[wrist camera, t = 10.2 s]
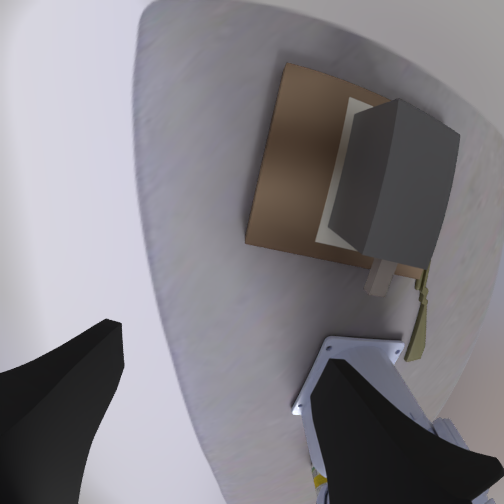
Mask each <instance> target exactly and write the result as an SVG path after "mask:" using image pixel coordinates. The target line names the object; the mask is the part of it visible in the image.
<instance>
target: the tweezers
mask: <svg viewBox="0 0 504 504" xmlns="http://www.w3.org/2000/svg"><path fill="white" fill-rule="evenodd" d="M430 262H431V261H430ZM429 267H430V263H429V266H428V269H427V270H424V269H423V271H422V274H421V277H420V279H416V283H415V289H416V290H419V291H420V297H419V301H420V302H421V306H420V309H419V313H418V317H417V320H416V324H415V327H414V330H413V334H412V337H411V340H410V343H409V346H408V349H407V352H406V355H405V358H404V360H405V361H406V362H410V361H414V360H417V359H420V358H421V356H422V353H423V351H424V348H425V339H426V315H427V303H428V300H427V299H426V296H427V294H428V289H427V288H426V282H427V277H428V273H429Z"/></svg>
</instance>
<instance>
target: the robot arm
mask: <svg viewBox="0 0 504 504" xmlns="http://www.w3.org/2000/svg"><path fill="white" fill-rule="evenodd" d="M328 346H330V347H329V348H327V347H328ZM404 346H405V344H404V343H403V341H399V340H379V339H364V338H351V337H340V336H329V337H327V338H326V339H325V340H324V342H323V345H322V347H321V349H320V352H319V354H318V356H317V358H316V360H315V363H314V365H313V367H312V369H311V371H310V373H309V375H308V377H307V379H306V381H305V384H304V386H303V388H302V390H301V392H300V394H299V396H298V397H297V399H296V401H295V403H294V405H293V407H292V409H291V412H292V414H294V415H301V416H302V421H303V425H304V430H305V434H306V439H307V444H308V448H309V453H310V457H311V461H312V464H313V466H314V467H315V469H316V470H317V471H318V472H319V473H320V474H321V475H322V476H324V477H325V478H327V484H326V485H324V486H323V487H322V488H321V490H320V492H319V494H318V497H317V501H316V504H495V501H494V499H493V498H491V499H489V500H488V497H487V493H488V491H489V488H490V487H491V486H492V485H493V484H495V483H496V482H497V481H498V480H500V479H501V478H502V477H503V476H504V468H503V467H502V465H501V463H500V462H499V460H498V459H497V458H496V457H491V456H487V455H483V454H479V453H475V452H472V451H470V450H469V448H468V446H467V445H466V443H465V441H464V440H463V438H462V437H461V435H460V433H459V432H458V430H457V429H456V427H455V426H454V424H453V423H452V421H451V420H450V419H446V418H444V419H442V418H438V419H436V420H435V421H434V422H433V424H432V423H431V422H430V421H429V420H428V419H427V417H426V415H425V414H424V412H423V410H422V409H421V407H420V406H419V404H418V402H417V401H416V399H415V397H414V396H413V394H412V393H411V391H410V389H409V388H408V386H407V385H406V383H405V382H404V380H403V379H402V377H401V375H400V374H399V372H398V371H397V369H396V368H395V366H394V364H395V362H396V360H397V359H398V357H399V355H400V353H401V352H402V350H403V348H404ZM123 355H124V354H123V340H122V323H120V322H116V321H112V320H109V319H104V320H103V321H101V322H99V323H97V324H96V325H94V326H93V327H91V328H89V329H88V330H86V331H84V332H83V333H81V334H80V335H78V336H76V337H75V338H73V339H71V340H70V341H68V342H66V343H65V344H63V345H61V346H60V347H58V348H56V349H54V350H52V351H50V352H48V353H46V354H45V355H42V356H41V357H39V358H37V359H35V360H33V361H30V362H28V363H26V364H24V365H21V366H19V367H16V368H14V369H11V370H8V371H5V372H2V373H0V504H78V500H79V494H80V487H81V482H82V477H83V473H84V469H85V465H86V461H87V457H88V454H89V450H90V447H91V444H92V441H93V439H94V436H95V434H96V432H97V430H98V427H99V425H100V423H101V421H102V419H103V417H104V415H105V412H106V410H107V408H108V406H109V404H110V402H111V400H112V398H113V396H114V394H115V392H116V390H117V387H118V384H119V381H120V378H121V375H122V372H123V369H124V356H123Z"/></svg>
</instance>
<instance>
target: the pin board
mask: <svg viewBox="0 0 504 504" xmlns="http://www.w3.org/2000/svg"><path fill="white" fill-rule="evenodd" d="M389 101H391V100H389V99H387V98H385V97H383V96H381V95H378V94H376V93H374V92H372V91H369V90H367V89H365V88H362V87H360V86H357V85H355V84H352V83H350V82H347V81H344V80H342V79H339V78H336V77H333V76H330V75H327V74H324V73H321V72H318V71H315V70H312V69H309V68H305V67H302V66H298V65H295V64H291V63H286V65H285V68H284V70H283V74H282V79H281V83H280V87H279V91H278V95H277V100H276V104H275V108H274V112H273V116H272V121H271V125H270V129H269V134H268V138H267V142H266V147H265V151H264V155H263V160H262V164H261V168H260V173H259V177H258V181H257V186H256V190H255V195H254V199H253V204H252V208H251V213H250V217H249V222H248V226H247V231H246V235H245V244H249V245H254V246H259V247H264V248H269V249H274V250H279V251H284V252H289V253H294V254H298V255H303V256H308V257H313V258H318V259H323V260H328V261H333V262H338V263H342V264H347V265H352V266H357V267H362V268H367V269H371V266H372V264H373V261H374V257H370V256H365V255H362V254H361V253H359V252H358V251H357V250H356V249H355V248H353V247H352V246H351V245H350V244H348V243H347V242H346V241H345V240H343V239H342V238H341V237H340V236H338V235H337V234H336V233H335V232H333V231H332V230H331V229H330V228H328V223H329V220H330V216H331V212H332V209H333V205H334V201H335V197H336V193H337V189H338V185H339V181H340V177H341V173H342V169H343V165H344V160H345V156H346V152H347V147H348V142H349V138H350V133H351V128H352V123H353V118H354V114H356V113H358V112H361V111H364V110H366V109H369V108H372V107H375V106H378V105H380V104H383V103H386V102H389ZM422 271H423V269H420V268H416V267H412V266H408V265H404V264H400V263H398V264H397V267H396V270H395V273H394V274H395V275H400V276H405V277H409V278H414V279H420V277H421V274H422Z"/></svg>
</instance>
